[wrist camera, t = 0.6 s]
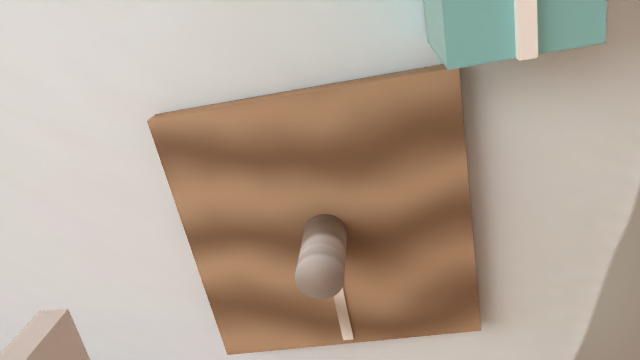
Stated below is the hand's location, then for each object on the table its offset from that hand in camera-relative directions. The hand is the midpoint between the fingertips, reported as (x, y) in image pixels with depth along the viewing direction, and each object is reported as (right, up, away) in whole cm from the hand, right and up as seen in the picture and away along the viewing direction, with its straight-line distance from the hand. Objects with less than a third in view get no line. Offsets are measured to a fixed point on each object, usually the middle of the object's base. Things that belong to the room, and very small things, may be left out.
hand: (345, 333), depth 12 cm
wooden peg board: (0, 0, +25) cm, 25 cm away
